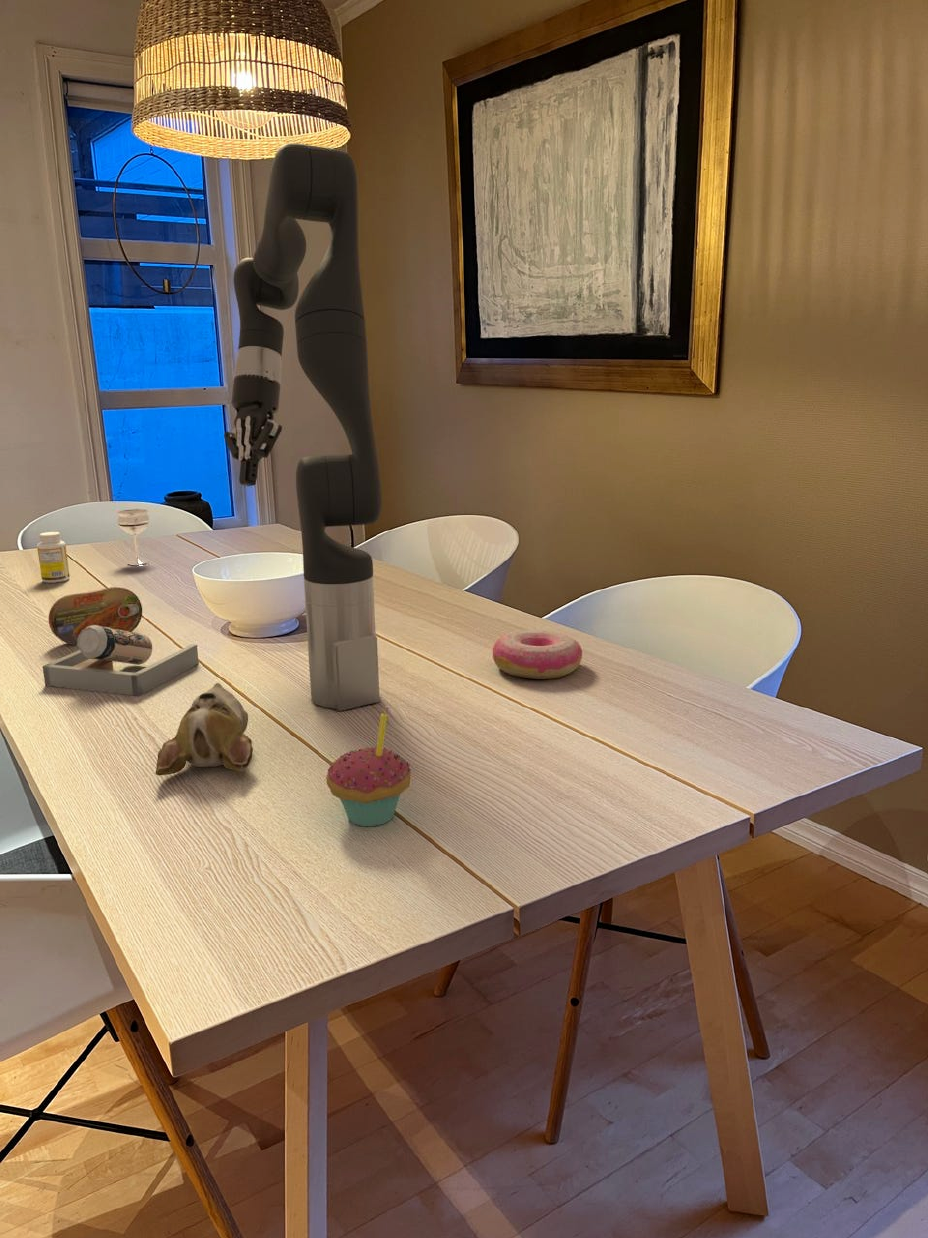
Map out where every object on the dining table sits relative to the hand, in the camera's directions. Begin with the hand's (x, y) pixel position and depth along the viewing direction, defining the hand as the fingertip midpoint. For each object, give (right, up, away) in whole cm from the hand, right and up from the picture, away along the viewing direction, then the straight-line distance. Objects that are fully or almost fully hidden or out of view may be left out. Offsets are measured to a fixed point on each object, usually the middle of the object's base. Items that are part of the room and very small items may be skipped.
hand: (247, 484), depth 152 cm
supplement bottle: (-52, -14, +50) cm, 73 cm away
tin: (-27, -25, +8) cm, 38 cm away
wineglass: (-40, -9, +65) cm, 77 cm away
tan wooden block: (-19, -31, -14) cm, 39 cm away
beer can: (-15, -26, -6) cm, 31 cm away
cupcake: (+25, -42, -55) cm, 74 cm away
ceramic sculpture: (+5, -39, -41) cm, 57 cm away
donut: (+46, -29, -10) cm, 55 cm away
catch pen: (-16, -30, -10) cm, 35 cm away
